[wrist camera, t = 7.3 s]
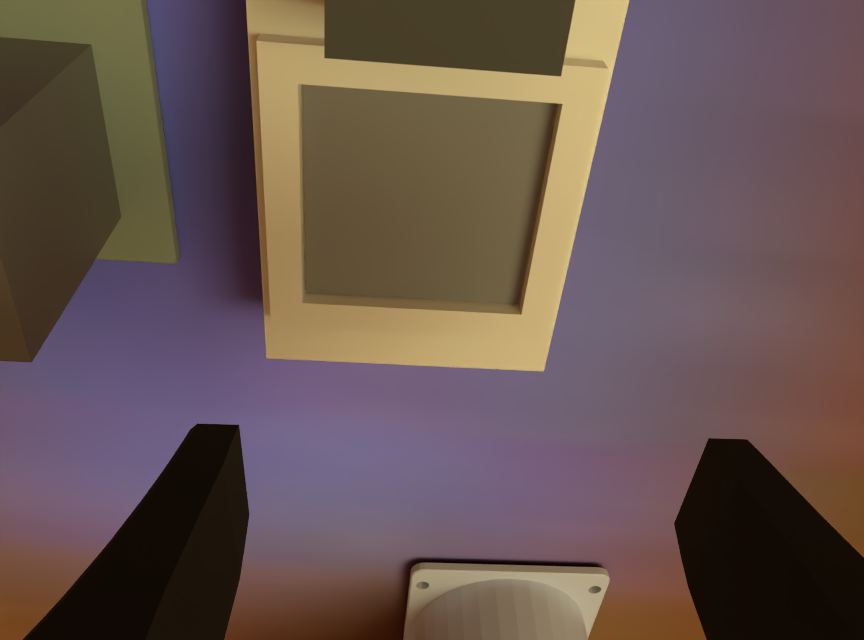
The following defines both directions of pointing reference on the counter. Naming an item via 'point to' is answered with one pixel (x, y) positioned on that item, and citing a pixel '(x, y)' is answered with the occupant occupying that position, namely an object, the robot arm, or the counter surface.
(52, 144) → the block
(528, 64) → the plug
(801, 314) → the counter surface
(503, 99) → the power strip
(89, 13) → the mat
